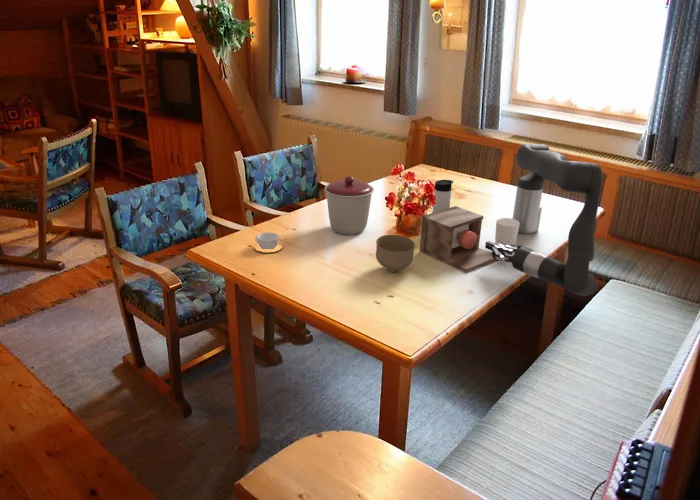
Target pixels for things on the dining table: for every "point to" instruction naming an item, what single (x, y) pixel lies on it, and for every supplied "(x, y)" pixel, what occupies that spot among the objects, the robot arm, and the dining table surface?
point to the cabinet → (440, 238)
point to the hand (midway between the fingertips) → (486, 244)
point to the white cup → (506, 231)
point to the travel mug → (442, 195)
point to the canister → (348, 205)
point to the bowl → (395, 252)
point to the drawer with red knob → (464, 237)
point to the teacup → (267, 240)
